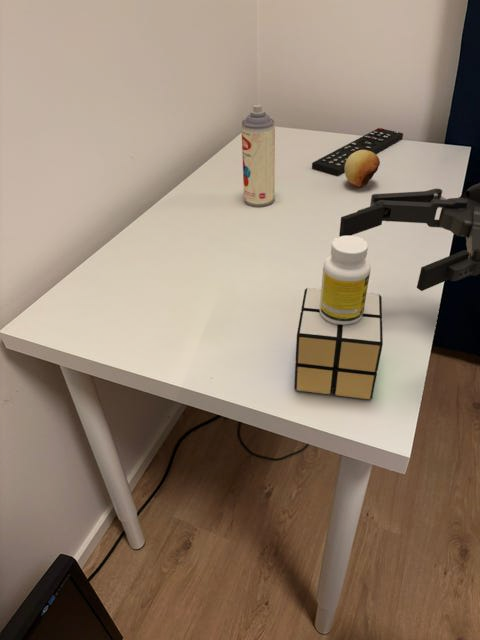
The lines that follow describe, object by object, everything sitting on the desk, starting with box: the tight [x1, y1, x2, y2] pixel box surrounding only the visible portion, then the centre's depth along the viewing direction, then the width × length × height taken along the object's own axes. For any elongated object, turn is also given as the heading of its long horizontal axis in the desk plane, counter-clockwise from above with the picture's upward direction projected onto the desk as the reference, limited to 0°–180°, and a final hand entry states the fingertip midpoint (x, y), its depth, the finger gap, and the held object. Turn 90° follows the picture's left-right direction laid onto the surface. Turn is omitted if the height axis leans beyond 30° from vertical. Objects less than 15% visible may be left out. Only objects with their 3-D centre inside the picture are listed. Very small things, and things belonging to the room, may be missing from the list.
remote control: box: [311, 127, 404, 177], centre depth 126 cm, size 8×32×2 cm, turn 137°
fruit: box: [344, 150, 381, 188], centre depth 109 cm, size 8×8×8 cm
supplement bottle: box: [320, 235, 372, 325], centre depth 57 cm, size 5×5×10 cm
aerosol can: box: [240, 104, 276, 208], centre depth 102 cm, size 7×7×20 cm
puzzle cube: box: [293, 287, 384, 400], centre depth 63 cm, size 10×10×10 cm
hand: (378, 251), depth 57 cm, fingers open, 13 cm apart
